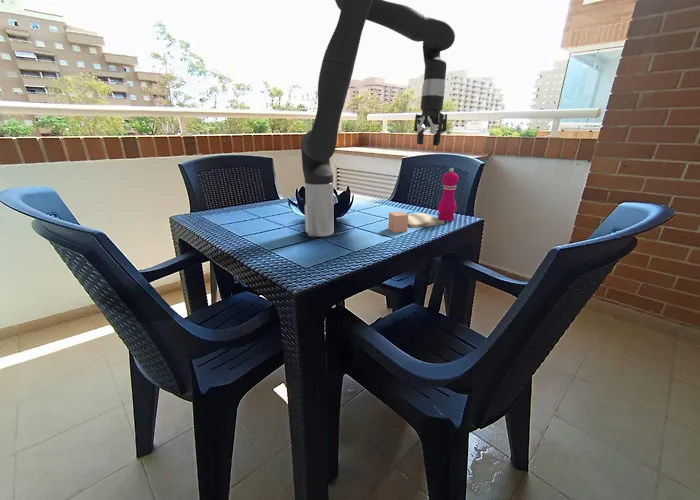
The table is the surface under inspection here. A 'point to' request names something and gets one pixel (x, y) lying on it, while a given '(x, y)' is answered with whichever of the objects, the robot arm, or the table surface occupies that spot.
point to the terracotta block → (398, 221)
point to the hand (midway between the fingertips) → (427, 144)
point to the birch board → (422, 220)
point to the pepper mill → (448, 196)
